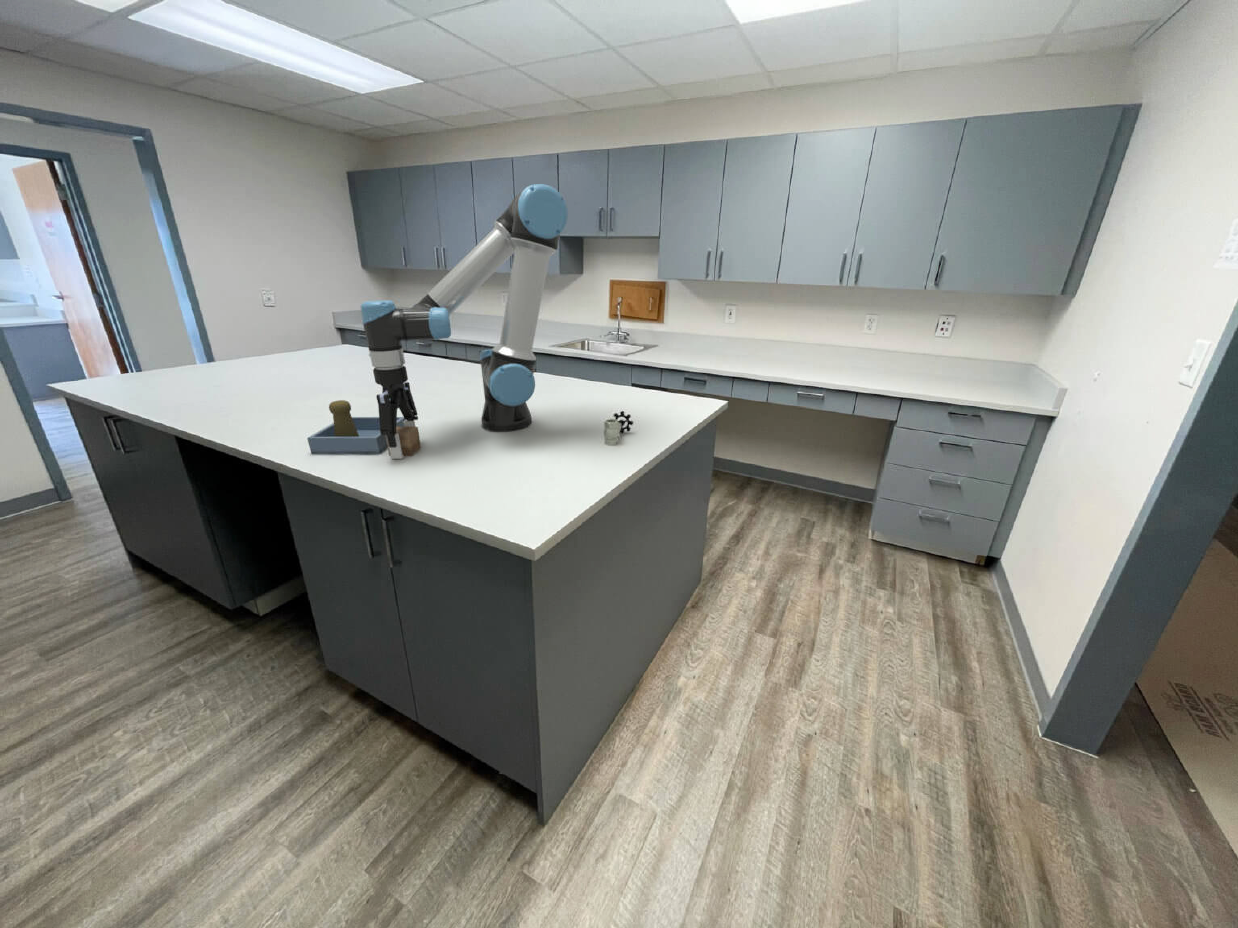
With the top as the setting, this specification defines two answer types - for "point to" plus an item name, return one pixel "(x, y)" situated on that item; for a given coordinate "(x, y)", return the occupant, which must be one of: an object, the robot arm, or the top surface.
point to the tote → (352, 438)
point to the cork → (343, 419)
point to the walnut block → (408, 440)
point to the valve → (615, 428)
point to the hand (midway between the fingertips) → (405, 450)
